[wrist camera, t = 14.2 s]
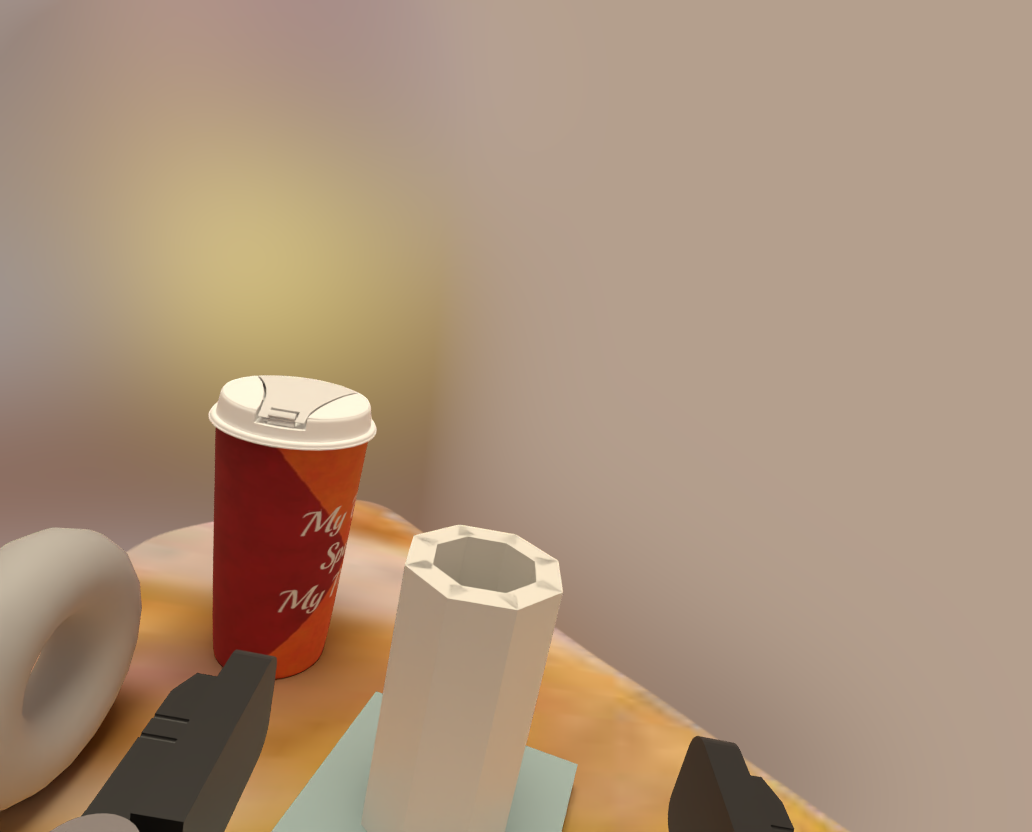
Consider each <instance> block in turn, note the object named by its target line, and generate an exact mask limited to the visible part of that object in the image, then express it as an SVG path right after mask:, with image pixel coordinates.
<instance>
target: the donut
mask: <svg viewBox="0 0 1032 832" xmlns="http://www.w3.org/2000/svg"><path fill="white" fill-rule="evenodd" d="M141 609H142V605H141V593H140V582H139V580H138V577H137V575H136V572H135V570H134V568H133V566H132V563H131V561H130V559H129V556H128V554H127V553H126V552H125V551H124V550H123V549H121V548H120V547H119V546H118V545H116V544H115V543H114V542H112V541H111V540H110V539H108V538H107V537H106V536H104V535H103V534H101V533H98V532H96V531H93V530H88V529H72V528H49V529H46V530H42V531H38V532H36V533H33V534H30V535H28V536H25V537H22V538H20V539H17V540H14V541H12V542H9V543H7V544H5V545H4V546H3V547H1V548H0V811H2V810H5V809H7V808H9V807H11V806H13V805H15V804H17V803H19V802H21V801H23V800H25V799H27V798H28V797H30V796H32V795H34V794H36V793H37V792H39V791H40V790H42V789H43V788H44V787H46V786H47V785H48V784H49V783H50V782H51V781H53V780H54V779H55V778H56V777H57V776H58V775H59V774H60V773H62V772H63V771H64V770H65V769H66V768H67V767H68V766H69V765H71V763H72V762H73V761H74V760H75V758H76V757H77V756H78V755H79V753H80V752H81V751H82V750H83V748H84V747H85V746H86V745H87V743H88V742H89V741H90V740H91V738H92V737H93V736H94V735H95V733H96V731H97V730H98V728H99V727H100V725H101V723H102V722H103V720H104V718H105V717H106V715H107V713H108V712H109V710H110V708H111V707H112V705H113V703H114V701H115V700H116V697H117V695H118V693H119V690H120V688H121V686H122V684H123V681H124V679H125V677H126V675H127V672H128V670H129V666H130V663H131V660H132V656H133V653H134V649H135V646H136V643H137V638H138V632H139V624H140V616H141ZM40 652H41V653H40ZM39 654H40V656H39ZM38 656H39V658H38ZM37 658H38V660H37ZM36 660H37V662H36ZM35 662H36V664H35ZM34 664H35V666H34ZM33 666H34V668H33ZM32 668H33V670H32ZM31 670H32V672H31ZM30 673H31V674H30Z"/></svg>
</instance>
